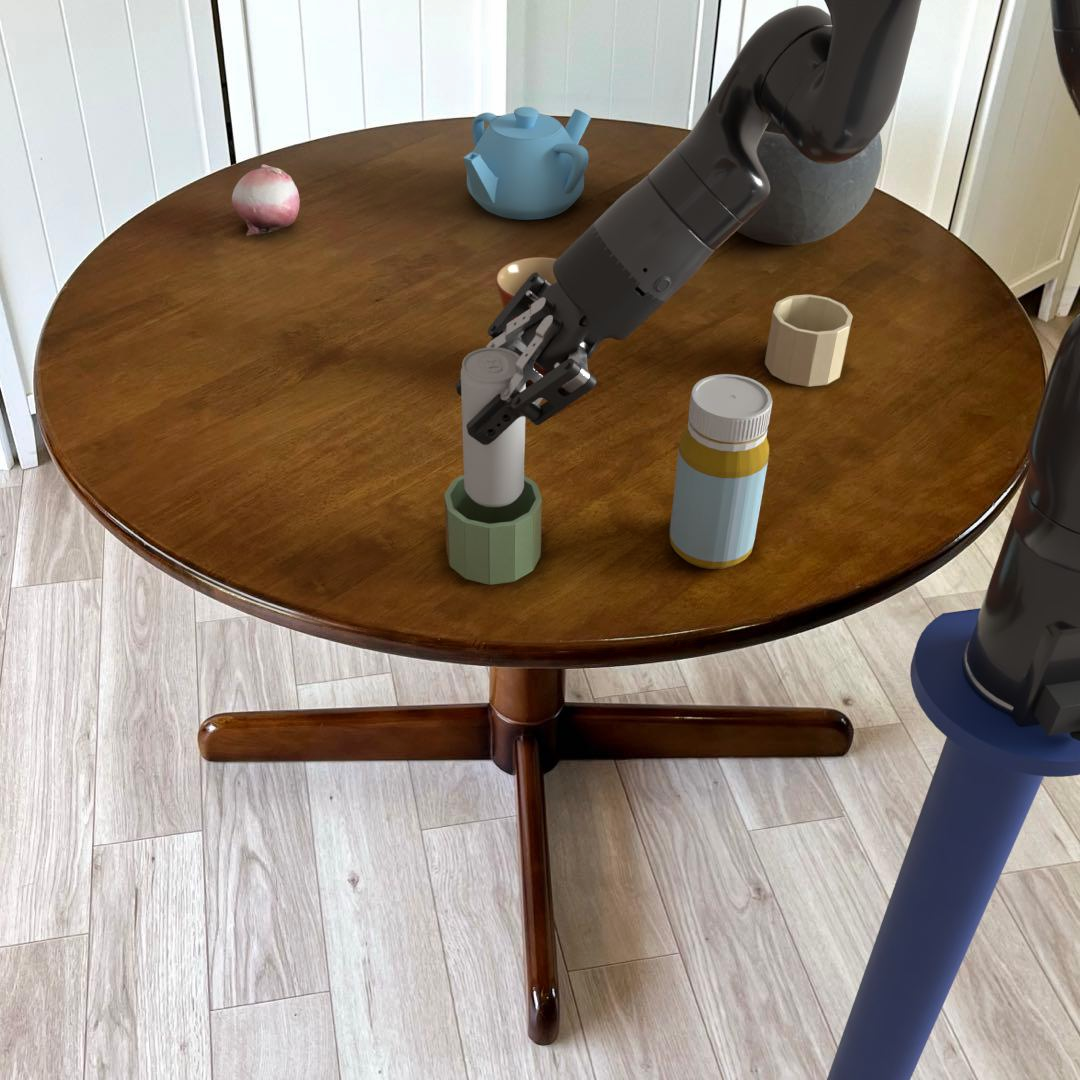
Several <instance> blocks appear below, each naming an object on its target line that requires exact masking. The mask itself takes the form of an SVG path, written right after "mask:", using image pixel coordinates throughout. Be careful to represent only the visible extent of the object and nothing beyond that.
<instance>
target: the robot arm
mask: <svg viewBox="0 0 1080 1080" xmlns="http://www.w3.org/2000/svg"><path fill="white" fill-rule="evenodd" d="M823 1H824V3H825V6H826V7H827V10H828V12H826V11H825V10H824V9H822V8H821V7H817V6H814V5H807V4H805V5H797V6H793V7H790V8H787V9H784V10H782V11H780V12H778V13H777V14H775V15H773V16H772V17H771V18H769V19H767V20H766V21H765V22H764V23H762V24H761V26H759V27H758V28H757V29H756V30H755V31H754V32H753V34H752V35H751V36H750V38H749V39H748V40H747V41H746V42H745V44H744V46H743V47H742V49H740V51H739V53H738V55H737V56H736V58H735V60H734V61H733V63H732V64H731V67H729V70H728V71H727V73H726V75H725V76H724V78H723V80H722V81H721V83H720V85H719V86H718V88H717V90H716V91H715V93H714V94H713V95H712V97H711V99H710V100H709V101H708V103H707V105H706V107H705V108H704V110H703V112H702V113H701V115H700V117H699V119H698V120H697V122H696V123H695V125H694V126H693V128H692V129H691V130H690V132H689V133H688V135H687V136H686V137H685V138H684V139H683V140H682V141H681V142H680V143H678V145H677V146H676V147H674V148H673V150H671V151H670V153H668V154H667V155H666V156H665V157H664V158H663V159H662V160H661V161H660V162H659V163H658V164H657V165H656V166H655V167H654V168H653V169H652V170H651V171H650V172H649V173H648V175H646V176H645V177H643V178H642V179H641V180H640V181H639V182H638V183H636V184H635V185H634V186H632V187H631V188H630V189H628V190H627V191H626V192H624V193H623V194H622V195H621V196H620V197H618V199H616V200H615V201H614V203H612V204H611V205H610V206H609V207H608V208H607V209H606V210H605V211H604V212H603V213H602V214H601V215H600V216H599V217H598V218H597V219H596V220H594V222H593V223H592V224H591V225H590V226H589V227H588V228H587V229H586V230H585V231H584V232H583V233H582V234H581V235H580V236H579V237H578V238H577V239H576V240H575V241H574V242H573V243H572V244H571V245H570V246H569V247H568V248H567V249H566V250H564V251H563V253H562V254H561V255H560V256H558V258H556V259H557V260H556V261H555V262H554V265H553V272H554V275H555V278H556V280H557V282H555V283H553V284H550V283H549V282H548V281H547V280H545V279H544V278H543V277H542V276H541V275H539V274H538V273H537V272H535V273H533V274H532V275H531V276H530V277H529V278H528V279H527V281H526V282H525V283H524V284H523V286H522V287H521V288H520V289H519V291H518V292H517V293H516V294H515V295H514V297H513V298H512V299H511V300H510V302H509V303H508V304H507V305H506V307H505V308H504V309H503V308H502V310H501V312H500V313H499V314H498V315H497V317H496V318H495V319H494V320H493V321H492V323H491V324H490V325H489V326H488V329H487V335H488V336H490V337H491V340H490V341H489V342H488V344H486V346H485V348H487V347H498V348H505V349H508V350H511V351H513V352H516V353H517V354H518V355H520V358H519V359H518V360H517V362H516V364H515V368H516V373H515V375H514V376H513V377H512V379H511V380H510V382H509V383H508V384H507V386H506V387H505V388H504V390H503V391H502V393H501V395H500V394H498V395H497V396H496V397H494V398H493V399H492V400H491V401H490V402H489V403H488V404H487V405H486V406H485V407H484V408H483V409H482V410H481V411H480V412H479V413H478V414H477V415H476V416H475V417H474V418H473V419H471V420H470V421H469V422H468V423H467V426H466V427H467V431H468V434H469V435H470V436H471V437H473V438H474V439H475V440H477V441H478V442H480V443H481V444H483V445H488V444H490V443H491V442H492V441H494V440H495V439H496V438H498V437H499V435H501V434H502V433H503V431H505V430H506V429H507V428H508V427H509V426H510V425H511V424H512V423H513V422H515V421H516V420H517V419H518V418H519V417H522V416H524V417H525V419H527V420H529V421H530V423H532V424H533V425H535V426H540V425H542V424H543V423H544V422H546V421H548V420H549V419H550V418H552V417H553V416H555V415H556V414H558V413H560V412H561V411H562V410H564V409H565V408H567V407H568V406H570V405H571V404H573V403H574V402H575V401H577V400H578V399H580V398H581V397H583V396H584V395H586V394H588V393H589V392H590V391H592V390H593V389H594V388H595V386H596V385H597V382H598V381H597V377H596V376H595V375H593V374H592V373H591V372H590V371H589V367H588V365H589V364H588V360H589V359H591V358H592V356H593V355H594V353H595V351H596V350H597V348H598V347H599V346H600V344H601V343H602V342H603V340H605V339H614V340H616V341H623V340H626V339H627V338H628V337H629V336H631V335H632V334H633V333H634V332H635V331H636V330H637V329H638V328H640V326H641V325H643V323H645V322H646V321H647V320H648V319H649V318H650V317H651V316H652V315H653V314H654V313H656V311H658V310H659V308H661V307H662V306H663V305H664V304H666V302H667V301H668V300H669V299H670V298H672V296H673V295H675V294H676V293H677V292H679V290H680V289H682V287H683V286H684V285H685V284H687V282H688V281H690V280H691V279H692V278H693V277H694V275H695V274H697V272H698V271H699V270H700V269H701V267H702V266H703V265H704V264H705V262H706V261H707V260H708V259H709V258H710V257H711V256H712V255H713V254H714V253H715V250H718V249H719V248H720V247H721V246H723V244H724V243H725V242H726V241H728V239H729V238H730V237H731V236H733V235H734V233H736V232H737V230H738V229H739V228H740V227H741V226H742V225H743V224H744V223H745V222H747V221H748V220H749V219H750V218H751V217H752V216H753V215H754V214H755V213H756V212H757V211H758V210H759V209H760V208H761V207H762V206H763V204H764V203H765V202H766V200H767V199H768V197H769V194H770V183H769V180H768V177H767V175H766V173H765V171H764V169H763V167H762V165H761V163H760V160H759V157H758V153H757V147H758V144H759V142H760V139H761V137H762V135H763V133H764V131H765V129H766V127H767V125H768V123H769V122H770V120H772V121H773V122H774V123H775V124H776V125H777V127H778V128H779V129H780V130H781V131H782V132H783V134H784V135H785V136H786V137H787V138H788V139H789V140H790V142H791V143H792V144H793V145H794V146H795V147H796V148H797V149H798V150H799V151H800V153H802V154H803V155H804V156H806V157H807V158H808V159H810V160H812V161H814V162H817V163H821V164H835V163H839V162H842V161H845V160H848V159H850V158H852V157H853V156H855V155H857V154H858V153H860V152H861V151H862V150H864V149H865V148H866V147H867V146H868V145H869V144H870V143H871V142H872V141H873V140H874V139H875V138H876V136H877V135H878V134H879V132H880V133H881V132H882V129H883V128H884V127H885V125H886V124H887V122H888V120H889V119H890V116H891V113H892V112H893V109H894V108H895V104H896V102H897V99H898V96H899V93H900V90H901V86H902V83H903V79H904V74H905V71H906V66H907V62H908V59H909V55H910V50H911V46H912V42H913V38H914V34H915V31H916V27H917V23H918V16H919V13H920V8H921V4H922V1H923V0H823ZM1049 7H1050V20H1051V31H1052V40H1053V46H1054V47H1053V48H1054V52H1055V57H1056V62H1057V67H1058V70H1059V73H1060V76H1061V79H1062V81H1063V84H1064V87H1065V89H1066V93H1067V94H1068V97H1069V99H1070V101H1071V104H1072V106H1073V108H1074V110H1075V112H1076V115H1077V116H1078V118H1079V119H1080V0H1049ZM528 304H530V305H531V306H528ZM514 316H518V317H516V318H515V319H513V320H512V321H511V319H512V318H513V317H514ZM505 327H506V328H505ZM517 348H518V349H517ZM516 349H517V350H516ZM534 363H535V364H536V365H538V366H539V367H540V368H541V369H543V370H544V371H545V372H546V373H548V372H549V373H548V374H546V375H545V376H542V375H541V374H540V373H538V372H537V371H536V370H535V369H534V366H533V365H534ZM528 380H531V381H533V382H534V383H533V384H532V385H529V386H528V387H526V389H525V390H523V391H522V392H519V391H520V390H521V389H522V387H523V386H524V385H525V383H526V382H527V381H528ZM455 390H456V392H457V394H458V395H459V397H461V378H459V379H458V380H457V382H455ZM543 399H544V400H545V402H544V403H542V404H541V402H542V401H543ZM540 404H541V405H540ZM1028 441H1029V442H1028V448H1027V449H1028V461H1029V466H1028V470H1027V472H1026V476H1025V479H1024V482H1023V485H1022V488H1021V491H1020V493H1019V496H1018V499H1017V502H1016V505H1015V508H1014V511H1013V513H1012V515H1011V519H1010V522H1009V525H1008V528H1007V531H1006V534H1005V536H1004V540H1003V542H1002V545H1001V548H1000V550H999V551H1000V552H999V555H998V557H997V560H996V563H995V565H994V568H993V571H992V574H991V578H990V580H989V584H988V585H987V589H986V592H985V595H984V597H983V598H984V599H983V601H982V604H981V607H980V608H981V609H980V612H979V615H978V618H977V621H976V625H975V628H974V631H973V633H972V636H971V639H970V640H969V642H968V644H967V646H966V649H965V652H964V655H963V660H962V667H963V672H964V675H965V677H966V680H967V682H968V683H969V685H970V686H971V688H972V689H973V690H974V691H975V693H976V694H977V695H978V696H979V697H980V698H982V699H983V700H984V701H985V702H987V703H988V704H989V705H991V706H992V707H994V708H996V709H997V710H999V711H1001V712H1003V713H1005V714H1007V715H1009V716H1011V718H1012V719H1013V720H1014V721H1015V723H1016V724H1017V725H1018V726H1019V727H1027V726H1033V725H1040V724H1041V726H1042V727H1043V729H1044V730H1045V731H1046V733H1047V734H1048V736H1050V735H1057V734H1063V733H1069V732H1070V736H1071V737H1072V738H1074V739H1077V740H1079V741H1080V313H1079V314H1077V316H1076V317H1075V318H1074V319H1073V320H1072V322H1071V323H1070V324H1069V326H1068V327H1067V329H1066V330H1065V333H1064V335H1063V336H1062V339H1061V341H1060V342H1059V345H1058V348H1057V350H1056V352H1055V355H1054V358H1053V361H1052V364H1051V366H1050V369H1049V373H1048V375H1047V379H1046V382H1045V385H1044V389H1043V391H1042V396H1041V398H1040V402H1039V406H1038V409H1037V412H1036V416H1035V419H1034V423H1033V426H1032V429H1031V434H1030V437H1029V440H1028Z"/></svg>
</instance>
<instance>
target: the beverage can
mask: <svg viewBox="0 0 1080 1080" xmlns="http://www.w3.org/2000/svg"><path fill="white" fill-rule="evenodd" d="M486 347H487V346H486ZM486 347H482V348H478V349H475V350H472V351H471V352H469V353H468V354H466V356H464V358H463V360H462V362H461V368H460V379H461V396H460V397H461V425H462V427H461V429H462V457H463V458H462V459H463V461H462V462H463V475H464V487H465V491H466V492H467V494H468V495H469V496H470V498H471V499H472V500H473V501H474V502H476V503H478V504H480V505H483V506H486V507H502V506H506V505H508V504H511V503H512V502H514V501H515V500H516V499H517V498H518V497H519V496H520V494H521V493H522V491H523V488H524V475H525V453H526V452H525V449H526V417H524V416H522V417H519V418H518V419H517V420H516V421H515V422H513V423H512V424H511V425H510V426H509V427H508V428H507V429H506V430H505V431H503V433H502V434H501V435H499V437H498V438H496V439H495V440H494V441H492V442H491V443H490V444H488V445H483V444H481V443H480V442H478V441H477V440H475V439H474V438H473V437H471V436H470V435H469V434H468V431H467V427H466V426H467V423H468V422H469V421H470V420H471V419H473V418H474V417H475V416H476V415H477V414H478V413H479V412H480V411H481V410H482V409H483V408H484V407H485V406H486V405H487V404H488V403H489V402H490V401H491V400H492V399H493V398H494V397H496V396H497V395H498V394H500V395H501V393H502V391H503V390H504V388H505V387H506V386H507V384H508V383H509V382H510V380H511V379H512V377H513V376H514V375H515V373H516V368H515V364H516V362H517V360H518V359H519V358H520V355H518V354H517V353H516V352H513V351H511V350H508V349H505V348H498V347H487V348H486ZM526 385H527V384H526V383H525V385H524V386H523V387H522V389H521V390H520V391H519V392H522V391H523V390H525V389H526V388H527V386H526Z"/></svg>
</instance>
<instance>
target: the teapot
mask: <svg viewBox="0 0 1080 1080" xmlns="http://www.w3.org/2000/svg"><path fill="white" fill-rule="evenodd" d="M591 120H592V116H590V115H588V114H587V113H586V112H584V111H582V110H580V109H578V108H575V109H574V110H573V111H572V114H571V115H570V117H569V119H568V121H567V123H566V125H565V127H564V126H563V124H562V123H561V122H560V121H559V120H558V119H557V118H555V117H553V116H551V115H547V114H544V113H540V112H539V110H538V109H537V108H535V107H531V106H521V107H517V108H515V109H514V110H513V112H510V113H506V114H503V115H500V116H497V115H496V114H495V113H493V112H483V113H480V114H478V115H476V116H475V117H474V119H473V120H472V124H471V129H472V130H471V132H472V139H473V145H474V149H473V150H472V151H471V152H470V153H468V154H466V155H465V156H464V157H462V158H463V163H464V166H465V169H466V187H467V190H468V192H469V194H470V196H471V197H472V198H473V199H474V200H475V202H476V203H477V204H478V205H480V207H482V209H483V210H485V211H487V212H489V213H491V214H492V215H496V216H498V217H501V218H506V219H511V220H512V219H513V220H523V221H530V220H531V221H533V220H534V221H535V220H541V219H548V218H551V217H555V216H557V215H560V214H562V213H564V212H566V211H567V210H568V209H569V208H570V207H571V206H573V204H575V202H576V201H577V200H578V199H579V198H580V197H581V195H582V193H583V191H584V188H585V173H586V170H587V168H588V164H589V151H588V150H587V149H586V148H585V147H584V146H583V145H581V144H579V143H580V141H581V139H582V138H583V135H584V134H585V131H586V129H587V127H588V125H589V123H590V121H591ZM485 122H486V123H487V124H488V126H487V128H486V129H485Z"/></svg>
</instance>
